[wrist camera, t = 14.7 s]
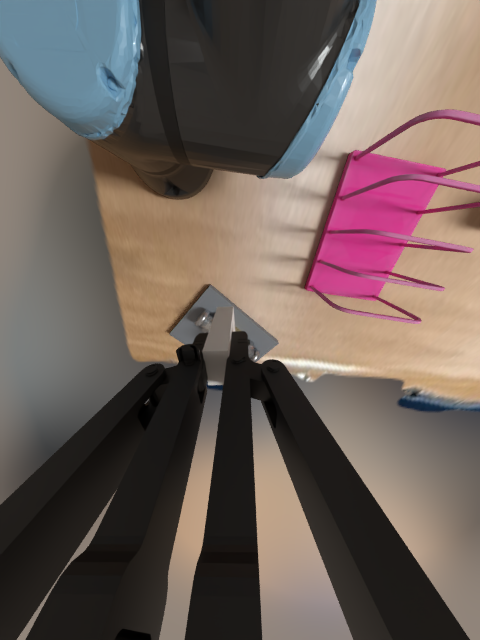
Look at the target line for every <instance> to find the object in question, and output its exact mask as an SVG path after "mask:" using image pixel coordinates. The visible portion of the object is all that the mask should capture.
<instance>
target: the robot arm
mask: <svg viewBox="0 0 480 640" xmlns="http://www.w3.org/2000/svg"><path fill="white" fill-rule="evenodd" d="M376 1H377V0H0V57H1V59H2V60H3V62H4V63H5V65H6V66H7V68H8V69H9V71H10V72H11V73H12V74H13V76H14V77H15V78H16V79H17V80H18V81H19V83H20V84H21V85H22V86H23V87H24V88H25V89H26V91H27V93H28V94H29V95H30V96H31V97H32V98H33V99H34V100H35V101H36V102H37V103H38V104H39V105H41V106H42V107H43V108H44V109H45V110H47V111H48V112H49V113H51V114H52V115H53V116H55V117H56V118H57V119H59V120H60V121H61V122H63V123H64V124H65V125H66V126H67V127H69V128H70V129H71V130H72V131H74V132H75V133H76V134H78V135H79V136H83V137H85V138H87V139H89V140H91V141H93V142H94V143H96V144H98V145H99V146H101V147H103V148H104V149H106V150H108V151H109V152H111V153H113V154H114V155H116V156H118V157H119V158H121V159H123V160H124V161H126V162H128V163H130V164H131V165H132V167H133V169H134V170H135V172H136V173H137V174H138V176H139V177H140V178H141V179H142V180H143V182H144V183H146V184H147V185H148V186H149V187H150V188H151V189H153V190H154V191H156V192H157V193H159V194H161V195H163V196H166V197H168V198H172V199H187V198H190V197H193V196H194V195H196V194H198V193H199V192H200V191H201V190H202V189H203V188H204V187H205V185H206V184H207V182H208V181H209V179H210V177H211V174H212V171H213V169H216V170H223V171H230V172H236V173H243V174H250V175H257V177H258V178H260V179H264V178H268V177H271V178H282V179H288V178H292V177H293V176H295V175H297V174H299V173H300V172H302V171H303V170H304V169H305V168H306V166H307V165H308V164H309V163H310V162H311V160H312V159H313V158H314V156H315V155H316V153H317V152H318V150H319V148H320V147H321V145H322V143H323V142H324V140H325V138H326V136H327V134H328V133H329V131H330V129H331V127H332V125H333V123H334V121H335V119H336V117H337V115H338V113H339V110H340V108H341V106H342V104H343V102H344V99H345V97H346V95H347V93H348V90H349V88H350V85H351V82H352V80H353V70H354V68H355V66H356V64H357V62H358V60H359V58H360V56H361V54H362V52H363V50H364V47H365V44H366V41H367V38H368V35H369V31H370V28H371V25H372V21H373V17H374V12H375V7H376ZM176 353H177V357H178V360H179V363H178V365H176V366H174V367H170V368H166V369H165V368H164V366H163V365H162V364H152V365H149V366H147V367H145V368H144V369H143V370H142V371H141V372H139V374H137V375H136V376H135V377H134V378H133V379H132V380H131V381H130V382H129V383H128V384H127V385H126V386H125V387H124V388H123V389H122V390H121V391H120V392H118V393H117V394H116V395H115V396H114V398H112V399H111V400H110V401H109V402H108V403H107V404H106V405H105V406H104V407H103V408H102V409H101V410H100V411H99V412H98V413H97V414H95V416H93V417H92V418H91V419H90V420H89V421H88V422H87V423H86V424H85V425H84V426H83V427H82V428H81V429H80V430H79V431H78V432H77V433H75V434H74V435H73V436H72V437H71V438H70V439H69V440H68V441H67V442H66V443H65V444H64V445H63V446H62V447H61V448H60V449H59V450H58V451H57V452H56V453H54V455H52V456H51V457H50V458H49V459H48V460H47V461H46V462H45V463H44V464H43V465H42V466H41V467H40V468H39V469H38V470H37V471H36V472H34V474H33V475H31V476H30V477H29V478H28V479H27V480H26V481H25V482H24V483H23V484H22V485H21V486H20V487H19V488H18V489H17V490H16V491H15V492H14V493H12V495H11V496H9V497H8V498H7V499H6V500H5V501H4V502H3V503H2V504H1V505H0V640H17V638H18V637H19V635H20V634H21V632H22V631H23V629H24V628H25V626H26V625H27V623H28V622H29V620H30V619H31V617H32V616H33V614H34V612H35V611H36V610H37V608H38V607H39V605H40V604H41V602H42V601H43V599H44V598H45V596H46V595H47V593H48V592H49V590H50V589H51V587H52V586H53V584H54V583H55V581H56V580H57V578H58V576H59V575H60V574H61V572H62V571H63V569H64V568H65V566H66V565H67V563H68V562H69V560H70V558H71V557H72V556H73V554H74V553H75V551H76V550H77V548H78V547H79V545H80V543H81V542H82V540H83V539H84V538H85V536H86V535H87V533H88V532H89V530H90V528H91V527H92V526H93V524H94V522H95V521H96V520H97V518H98V517H99V515H100V514H101V512H102V510H103V509H104V507H105V506H106V505H107V503H108V501H109V500H110V499H111V497H112V496H113V494H114V493H115V491H116V490H117V491H116V493H115V495H114V497H113V499H112V501H111V503H110V505H109V507H108V509H107V511H106V514H105V515H104V517H103V519H102V522H101V524H100V526H99V528H98V530H97V532H96V534H95V536H94V538H93V539H92V541H91V543H90V545H89V546H88V547H87V549H86V550H85V551H84V552H83V553H82V554H80V555H79V556H78V557H77V558H76V559H74V560H73V561H72V562H71V563H70V565H69V566H68V567H67V569H66V570H65V571H64V572H63V574H62V575H61V576H60V578H59V579H58V581H57V583H56V584H55V586H54V588H53V589H52V591H51V593H50V595H49V596H48V599H47V600H46V602H45V604H44V606H43V608H42V610H41V611H40V613H39V615H38V617H37V619H36V621H35V623H34V625H33V627H32V628H31V630H30V632H29V634H28V636H27V638H26V640H159V635H160V631H161V625H162V621H163V616H164V611H165V605H166V599H167V589H168V570H169V564H170V559H171V554H172V550H173V545H174V541H175V536H176V532H177V527H178V523H179V518H180V514H181V509H182V504H183V499H184V495H185V491H186V486H187V482H188V477H189V472H190V468H191V463H192V458H193V454H194V449H195V445H196V440H197V436H198V431H199V427H200V422H201V417H202V413H203V408H204V403H205V399H206V395H207V387H206V384H207V380H208V385H223V392H222V400H221V408H220V416H219V423H218V431H217V439H216V447H215V455H214V462H213V470H212V478H211V486H210V494H209V501H208V509H207V518H206V524H205V533H204V539H203V546H202V550H201V554H200V557H199V559H198V562H197V566H196V571H195V575H194V580H193V587H192V593H191V599H190V606H189V613H188V620H187V627H186V634H185V640H262V626H261V605H260V585H259V564H258V546H257V527H256V526H257V524H256V503H255V482H254V460H253V439H252V416H251V398H254V399H257V400H261V403H262V405H263V408H264V410H265V413H266V415H267V418H268V420H269V423H270V425H271V428H272V431H273V434H274V436H275V439H276V441H277V443H278V446H279V449H280V452H281V454H282V456H283V459H284V462H285V464H286V467H287V470H288V472H289V475H290V477H291V480H292V482H293V485H294V488H295V490H296V493H297V495H298V498H299V500H300V503H301V506H302V508H303V511H304V513H305V516H306V519H307V521H308V524H309V526H310V529H311V531H312V534H313V537H314V539H315V542H316V544H317V547H318V550H319V552H320V555H321V557H322V560H323V562H324V565H325V568H326V570H327V573H328V575H329V578H330V580H331V583H332V585H333V588H334V590H335V593H336V596H337V598H338V601H339V604H340V606H341V609H342V611H343V614H344V616H345V619H346V622H347V624H348V627H349V629H350V632H351V634H352V637H353V640H470V639H469V638H468V636H467V635H466V633H465V632H464V631H463V629H462V627H461V626H460V624H459V623H458V621H457V620H456V618H455V617H454V615H453V614H452V612H451V611H450V610H449V608H448V607H447V605H446V604H445V602H444V601H443V599H442V598H441V596H440V595H439V593H438V592H437V590H436V589H435V587H434V586H433V584H432V583H431V581H430V580H429V578H428V577H427V575H426V574H425V572H424V571H423V570H422V568H421V567H420V565H419V564H418V562H417V561H416V559H415V558H414V556H413V555H412V553H411V552H410V550H409V549H408V547H407V546H406V545H405V543H404V541H403V540H402V538H401V537H400V536H399V534H398V533H397V531H396V530H395V528H394V527H393V525H392V524H391V522H390V521H389V519H388V518H387V516H386V515H385V513H384V512H383V510H382V509H381V507H380V506H379V504H378V503H377V502H376V500H375V498H374V497H373V496H372V494H371V493H370V491H369V490H368V488H367V487H366V485H365V484H364V482H363V481H362V479H361V478H360V476H359V475H358V473H357V472H356V470H355V469H354V467H353V466H352V465H351V463H350V462H349V460H348V459H347V457H346V456H345V454H344V453H343V451H342V450H341V448H340V447H339V445H338V444H337V442H336V441H335V439H334V438H333V436H332V435H331V433H330V432H329V430H328V429H327V427H326V426H325V424H324V423H323V422H322V420H321V419H320V417H319V416H318V414H317V413H316V411H315V410H314V408H313V407H312V405H311V404H310V402H309V401H308V399H307V398H306V396H305V395H304V393H303V392H302V390H301V389H300V388H299V386H298V385H297V383H296V382H295V380H294V379H293V377H292V376H291V374H290V373H289V371H288V370H287V368H286V367H285V365H284V364H283V363H282V362H280V361H278V360H273V359H272V360H267V361H264V362H263V363H262V364H258V363H255V362H253V361H252V360H251V359H250V358H249V354H248V335H247V333H246V332H245V331H235V321H234V307H217V309H216V312H215V315H214V318H213V321H212V324H211V327H210V330H209V333H199V334H198V335H197V336H196V337H195V339H194V342H193V344H186V345H183V346H181V347H179V348H178V349H177V350H176ZM148 399H149V401H148V402H147V403H146V404H144V403H145V402H146V401H147V400H148ZM117 488H118V489H117Z"/></svg>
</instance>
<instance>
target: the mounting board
mask: <svg viewBox="0 0 480 640" xmlns="http://www.w3.org/2000/svg"><path fill="white" fill-rule="evenodd" d="M217 307H234V321H235V326H236V327H237V328H238V329H240V330H241V331H245V332H246V333H247V335H248V340H251V341H253V342H254V347H255V348H257V349H258V350H259V351H260V355H259V358H258V359H257V361H258V360H259V359H260V358H261V357H263V356H264V355H265V354H266V353H267V352H269V351H270V350H271V349H272V348H274V347H275V346H276V345H277V344H279V343H278V340H277V339H275V338H274V337H273V336H272V335H271V334H269V333H268V332H267V331H266V330H265V329H263V328H262V327H261V326H260V325H259V324H257V323H256V322H255V321H254V320H253V319H251V318H250V317H249V316H248V315H247V314H245V313H244V312H243V311H242V310H241V309H239V308H238V307H237V306H236V305H235V304H234V303H232V302H231V301H230V300H229V299H228V298H226V297H225V296H224V295H223V294H222V293H220V292H219V291H218V290H217V289H216V288H214V287H213V286H212V285H210V286H209V287H208V288H207V289H206V291H205V292H204V293H203V294H202V295H201V297H200V298H199V299H198V300H197V301H196V303H195V304H194V305H193V306H192V307H191V308H190V310H189V311H188V312H187V313H186V314H185V316H184V317H183V318H182V319H181V320H180V322H179V323H178V324H177V325H176V326H175V328H174V329H173V330H172V331H171V332H170V335H171V336H173V337H174V338H176V339H177V340H179V341H180V342H182V343H183V344H185V345H186V344H193V342H194V339H195V337H196V336H197V335H198V334H199V333H204V332H203V331H202V330H201V329H202V327H201V326H199V327H198V326H196V325H195V324H194V323H195V321H196V320H197V318H198V317H199V316H200V315H201V314H202V312H203V311H204V310H205V309H206V310H208V311H209V312H210V315H211V316H212V315H213V314H214V313H215V312H216V309H217ZM208 333H209V332H208Z"/></svg>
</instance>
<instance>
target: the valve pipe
mask: <svg viewBox="0 0 480 640" xmlns="http://www.w3.org/2000/svg"><path fill="white" fill-rule="evenodd" d="M214 315H215V313H214V314H213V315H212V316H211V315H210V312H209V311H208V310H206V309H205V310H204V311H203V312H202V314H201V315H200V316H199V317H198V318H197V320H196V321H195V323H194V324H195V325H196V326H198V327H199V326H201V327H202V329H201V330H202V331H203V332H204V333H208V332H209V330H210V327H211V324H212V321H213V318H214ZM235 331H241V330H240V329H238V328H237V327H236V326H235ZM248 354H249V358H250V359H251V360H252V361H253V362H256V361H257V359H258V358H259V355H260V351H259V350H258V349H257V348H255V347H254V342H253V341H251V340H248Z"/></svg>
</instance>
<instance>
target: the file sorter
mask: <svg viewBox="0 0 480 640" xmlns="http://www.w3.org/2000/svg"><path fill="white" fill-rule="evenodd" d="M432 119H452V120H457V121H462V122H466V123H470V124H475V125H479V126H480V115H478V114H474V113H469V112H465V111H459V110H437V111H431V112H427V113H425V114H422V115H419V116H417V117H415V118H413V119H411V120H410V121H408V122H407V123H405V124H403V125H402V126H400V127H399V128H397V129H396V130H394V131H393V132H391V133H390V134H388V135H387V136H385V137H384V138H382V139H381V140H379V141H378V142H376V143H375V144H373V145H372V146H370V147H369V148H368V149H366V150H365V151H359V150H355V151H353V152H351V153H350V154H349V155H348V158H347V161H346V165H345V167H344V170H343V173H342V176H341V180H340V183H339V186H338V189H337V192H336V195H335V198H334V201H333V204H332V207H331V210H330V213H329V216H328V219H327V222H326V225H325V228H324V231H323V234H322V237H321V240H320V243H319V246H318V249H317V252H316V255H315V258H314V261H313V264H312V267H311V270H310V273H309V276H308V279H307V282H306V285H305V289H306V290H307V291H313V292H315V293H316V294H318V295H319V296H320V297H321V298H322V299H323V300H324V301H325V302H327V303H328V304H329V305H330V306H332V307H333V308H335V309H337V310H340V311H343V312H346V313H351V314H356V315H362V316H369V317H375V318H381V319H387V320H393V321H400V322H406V323H413V324H419V323H421V321H422V320H421V319H420V318H419V317H417V316H415V315H413V314H411V313H409V312H407V311H405V310H403V309H401V308H399V307H397V306H395V305H393V304H391V303H389V302H387V301H385V300H383V299H381V298H379V297H378V295H379V293H380V292H381V290H382V288H383V286H384V284H385V282H390V283H395V284H401V285H407V286H413V287H419V288H425V289H431V290H437V291H444V289H445V288H444V287H442V286H439V285H435V284H432V283H428V282H424V281H421V280H417V279H414V278H410V277H406V276H403V275H399V274H396V273H392V272H391V271H392V269H393V268H394V266H395V264H396V262H397V260H398V258H399V257H400V255H401V253H402V251H403V249H404V247H413V248H423V249H433V250H443V251H453V252H464V253H471V252H472V251H473V250H474V249H473V248H469V247H465V246H460V245H454V244H449V243H444V242H439V241H434V240H429V239H423V238H418V237H413V236H411V235H412V233H413V231H414V229H415V227H416V225H417V224H418V222H419V220H420V218H421V216H422V214H426V213H434V212H442V211H450V210H458V209H466V208H474V207H480V202H476V203H471V204H464V205H457V206H450V207H443V208H436V209H429V210H425V209H426V207H427V205H428V203H429V202H430V200H431V198H432V196H433V194H434V193H435V191H436V189H437V187H438V185H443V186H448V187H453V188H457V189H463V190H467V191H473V192H477V193H480V186H479V185H475V184H470V183H465V182H460V181H455V180H451V179H446V178H443V176H445V175H449V174H453V173H456V172H460V171H463V170H467V169H470V168H474V167H477V166H480V161H478V162H475V163H471V164H468V165H465V166H461V167H458V168H455V169H452V170H448V171H446V169H444V168H439V167H434V166H430V165H425V164H420V163H416V162H411V161H406V160H401V159H396V158H391V157H386V156H382V155H377V154H372V153H370V152H371V151H373V150H375V149H376V148H378V147H379V146H381V145H382V144H384V143H386V142H387V141H389V140H390V139H392V138H393V137H395V136H397V135H398V134H400V133H401V132H403V131H405V130H406V129H408V128H410V127H411V126H413V125H415V124H418V123H420V122H424V121H427V120H432ZM408 241H412V242H418V243H423V244H428V245H417V244H407V242H408ZM429 245H434V246H429ZM389 275H392V276H396V277H399V278H402V279H406V280H409V281H412V282H407V281H401V280H396V279H389V278H388V277H389ZM413 282H416V283H413ZM322 293H326V294H332V295H339V296H345V297H352V298H359V299H365V300H372V301H375V300H376V299H377V300H379V301H381V302H383V303H385V304H386V305H388V306H390V307H392V308H394V309H396V310H398V311H400V312H402V313H404V314H406V315H407V316H409V317H411V318H413V319H414V320H411V319H405V318H399V317H393V316H386V315H379V314H373V313H368V312H362V311H355V310H350V309H346V308H343V307H340V306H338V305H336V304H334V303H333V302H331V301H330V300H329V299H328V298H326V297H325V296H324V295H323V294H322Z"/></svg>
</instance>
